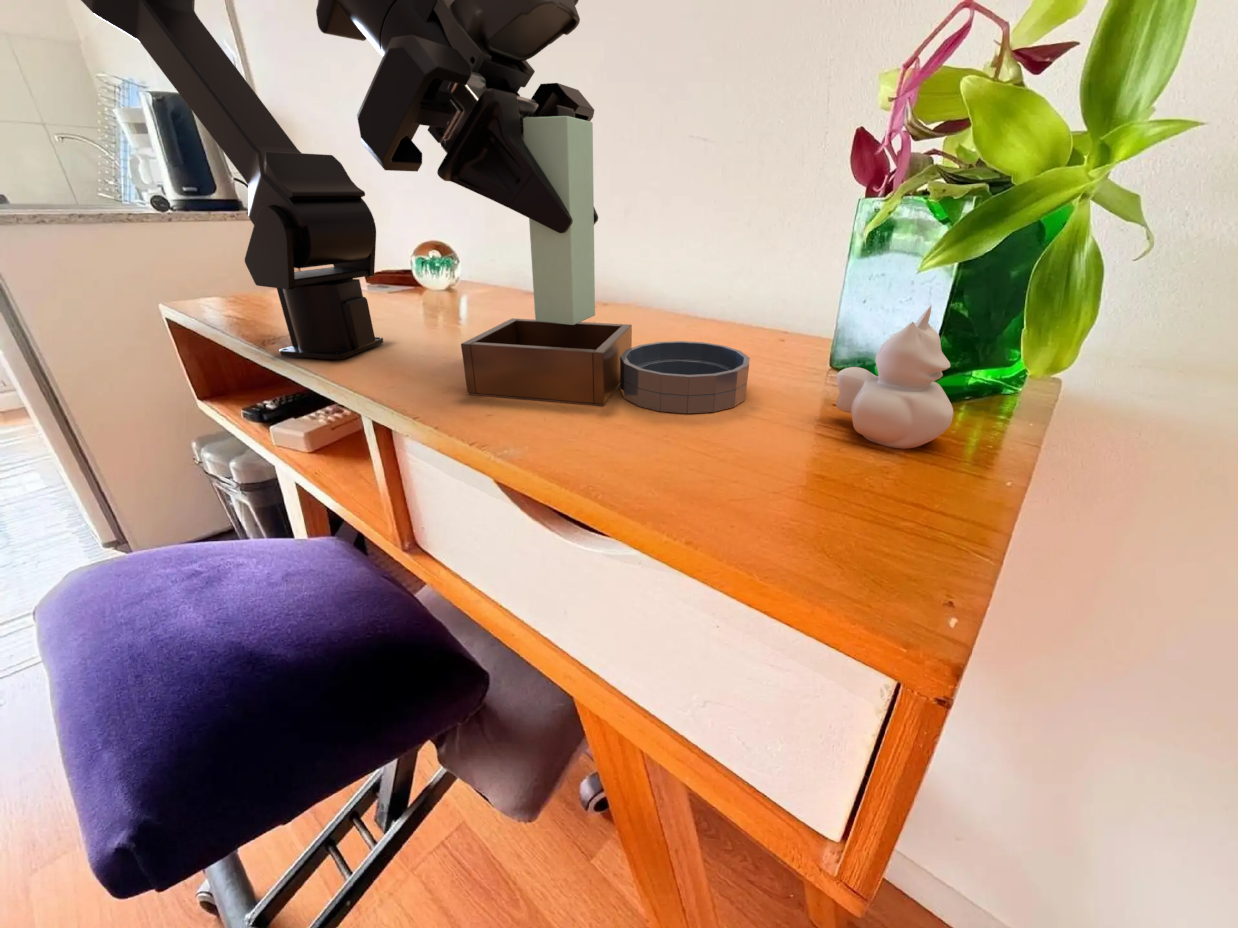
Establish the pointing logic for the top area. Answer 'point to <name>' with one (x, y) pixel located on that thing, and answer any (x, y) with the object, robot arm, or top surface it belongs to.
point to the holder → (547, 361)
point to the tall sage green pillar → (570, 255)
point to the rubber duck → (900, 390)
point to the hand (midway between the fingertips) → (581, 226)
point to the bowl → (684, 376)
